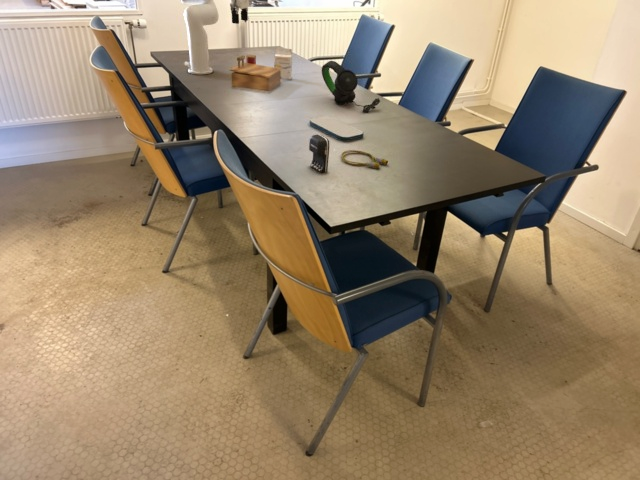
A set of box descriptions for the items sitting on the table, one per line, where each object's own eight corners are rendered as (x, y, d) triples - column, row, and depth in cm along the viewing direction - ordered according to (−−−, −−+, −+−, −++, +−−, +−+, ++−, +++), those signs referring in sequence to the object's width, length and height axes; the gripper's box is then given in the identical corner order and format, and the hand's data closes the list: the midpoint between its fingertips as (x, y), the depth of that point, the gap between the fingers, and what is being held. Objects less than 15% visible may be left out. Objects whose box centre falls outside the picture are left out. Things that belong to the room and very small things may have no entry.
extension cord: (361, 173, 160) (361, 167, 159) (334, 156, 171) (334, 150, 170) (390, 166, 165) (391, 161, 164) (362, 150, 177) (363, 145, 175)
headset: (356, 129, 220) (316, 85, 227) (379, 112, 223) (339, 70, 230) (359, 106, 203) (316, 59, 210) (384, 88, 206) (341, 43, 213)
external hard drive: (306, 124, 197) (306, 119, 196) (328, 119, 203) (329, 115, 202) (343, 143, 181) (343, 138, 180) (366, 138, 187) (367, 133, 186)
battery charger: (306, 167, 162) (308, 133, 155) (316, 165, 163) (318, 132, 157) (318, 175, 157) (320, 141, 151) (328, 173, 159) (330, 139, 152)
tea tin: (244, 78, 250) (244, 56, 244) (248, 76, 254) (248, 54, 248) (254, 79, 249) (253, 57, 243) (257, 77, 253) (257, 55, 247)
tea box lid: (229, 70, 230) (229, 58, 227) (243, 63, 243) (243, 52, 240) (268, 78, 227) (269, 66, 224) (280, 70, 240) (281, 59, 237)
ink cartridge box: (273, 79, 251) (273, 49, 243) (275, 77, 255) (275, 47, 248) (290, 80, 251) (290, 50, 243) (291, 78, 255) (292, 48, 247)
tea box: (231, 88, 234) (231, 73, 231) (245, 80, 247) (244, 66, 244) (268, 93, 230) (268, 78, 227) (280, 85, 243) (280, 70, 240)
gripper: (238, -19, 208) (239, 25, 218) (254, -21, 223) (255, 20, 232) (222, -20, 210) (224, 23, 219) (239, -23, 224) (240, 18, 233)
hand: (240, 21), depth 225 cm, fingers open, 9 cm apart
